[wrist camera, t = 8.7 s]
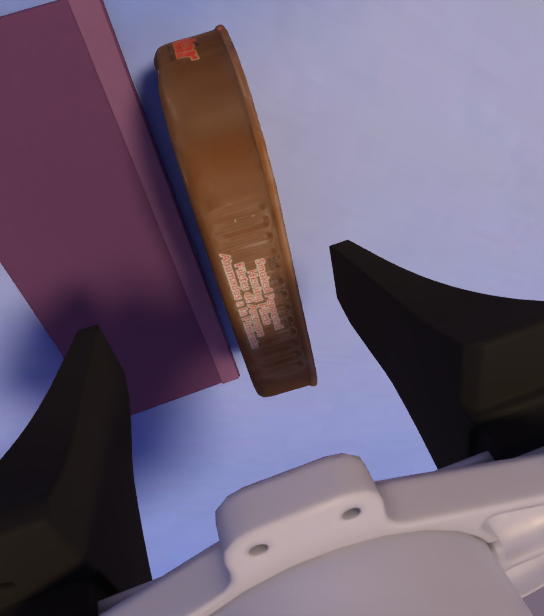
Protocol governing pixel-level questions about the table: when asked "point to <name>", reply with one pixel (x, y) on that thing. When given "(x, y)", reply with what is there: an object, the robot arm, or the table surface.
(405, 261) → the table surface
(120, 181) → the purple rectangular board
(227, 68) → the tin
